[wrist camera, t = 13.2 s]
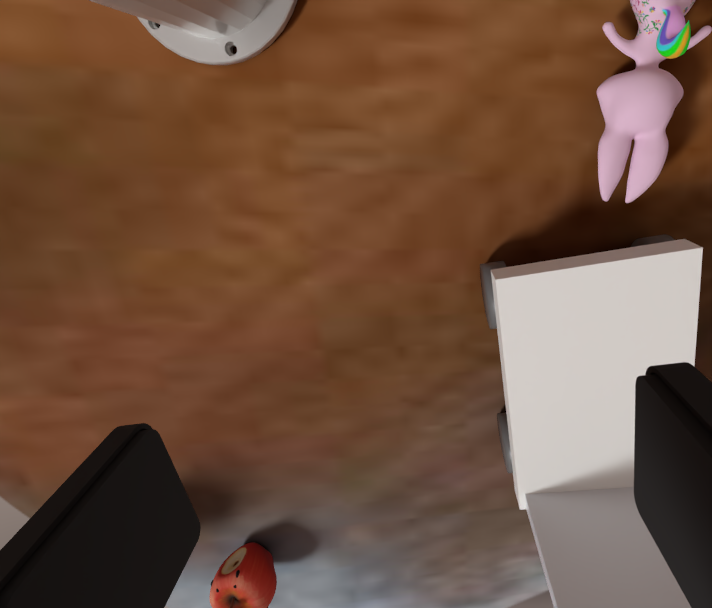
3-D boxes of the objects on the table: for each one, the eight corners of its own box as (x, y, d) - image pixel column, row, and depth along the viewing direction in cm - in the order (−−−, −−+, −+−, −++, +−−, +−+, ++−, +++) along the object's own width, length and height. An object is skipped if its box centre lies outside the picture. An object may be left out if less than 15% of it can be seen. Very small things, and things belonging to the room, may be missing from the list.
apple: (225, 525, 52) (184, 615, 42) (283, 532, 51) (255, 624, 42) (232, 571, 55) (195, 664, 45) (287, 578, 54) (261, 674, 45)
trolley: (476, 249, 36) (532, 373, 19) (651, 220, 33) (891, 332, 17) (500, 450, 43) (556, 667, 26) (645, 437, 40) (808, 668, 24)
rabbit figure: (603, -43, 29) (560, 198, 32) (652, -102, 23) (593, 199, 27) (707, -40, 28) (652, 205, 32) (784, -100, 22) (705, 207, 26)
